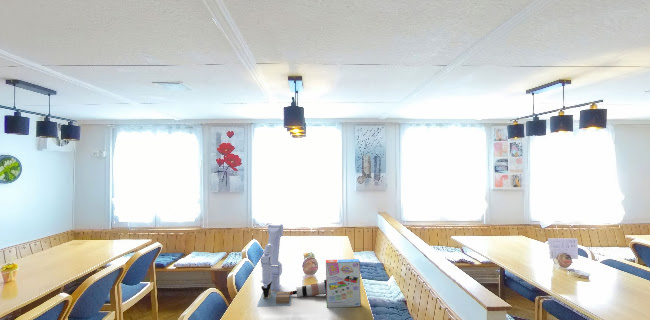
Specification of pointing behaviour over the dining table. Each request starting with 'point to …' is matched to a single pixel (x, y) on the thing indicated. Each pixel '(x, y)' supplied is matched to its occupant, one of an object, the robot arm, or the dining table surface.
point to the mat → (271, 301)
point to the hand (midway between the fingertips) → (267, 295)
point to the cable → (311, 290)
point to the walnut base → (282, 297)
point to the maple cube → (268, 294)
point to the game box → (343, 283)
